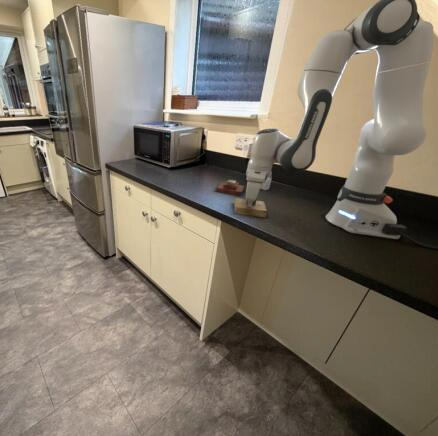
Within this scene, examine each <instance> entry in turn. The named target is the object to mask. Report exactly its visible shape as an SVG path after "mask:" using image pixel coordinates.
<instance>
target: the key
mask: <svg viewBox="0 0 438 436" xmlns="http://www.w3.org/2000/svg"><path fill="white" fill-rule="evenodd" d="M227 181H228V183H227V184H229V185H235V184H236V182H237V180H235V179H234V180H233V179H228V180H227Z"/></svg>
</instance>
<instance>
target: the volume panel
mask: <svg viewBox="0 0 438 436" xmlns="http://www.w3.org/2000/svg"><path fill="white" fill-rule="evenodd" d="M233 206H234V214H236V215H237V214H238V215H245V216H253V217H259V218H266V217H267V214H268V210H267V207H266V203H265V201H263V200H257V201H256V205H255V206H252V207H248V206H247V204H246V198H237V197H235V198H234V203H233Z"/></svg>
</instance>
